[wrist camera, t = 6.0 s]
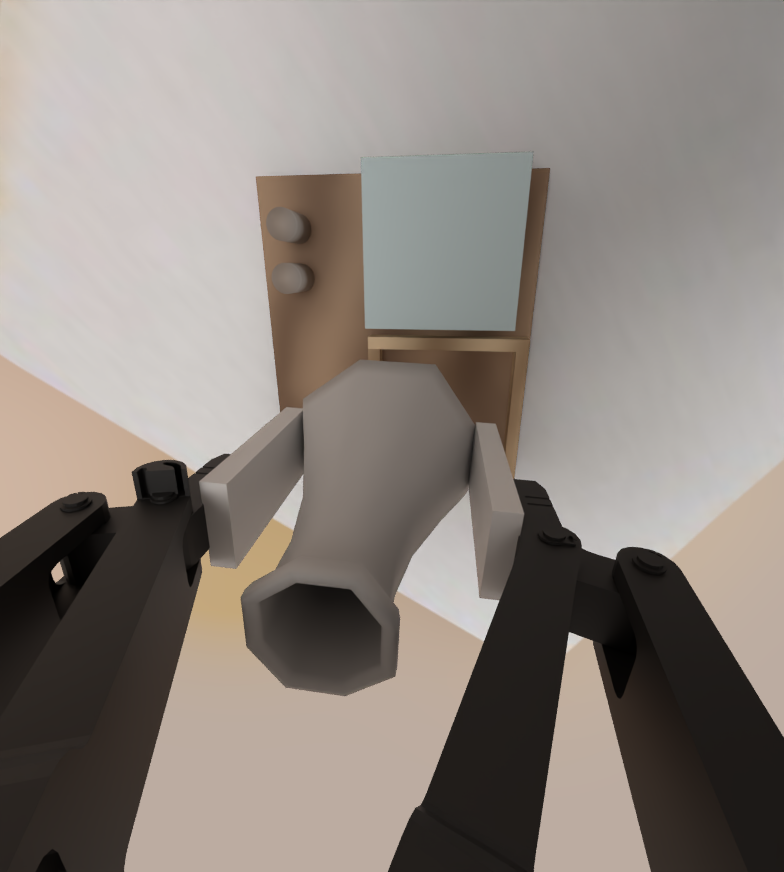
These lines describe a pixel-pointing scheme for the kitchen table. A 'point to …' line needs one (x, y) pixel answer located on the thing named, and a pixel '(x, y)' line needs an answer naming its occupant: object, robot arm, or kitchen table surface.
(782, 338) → the kitchen table surface
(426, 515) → the flask
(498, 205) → the pale blue block
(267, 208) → the board
